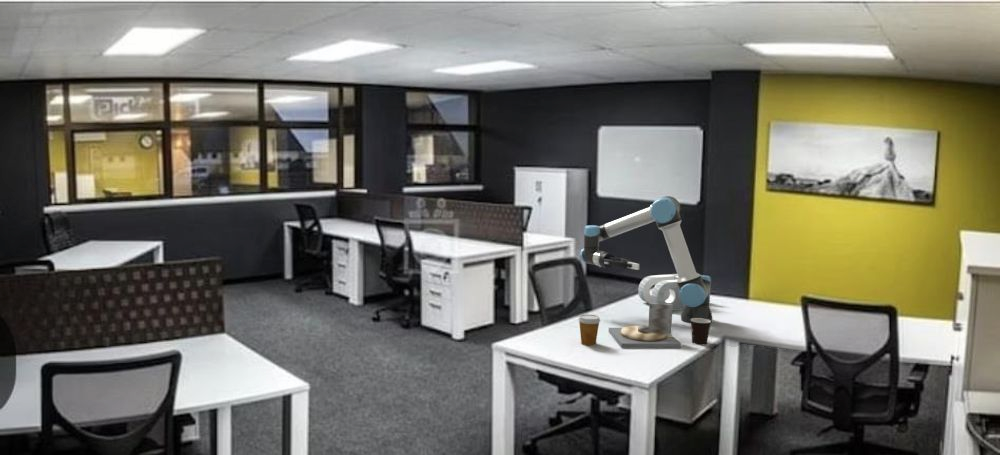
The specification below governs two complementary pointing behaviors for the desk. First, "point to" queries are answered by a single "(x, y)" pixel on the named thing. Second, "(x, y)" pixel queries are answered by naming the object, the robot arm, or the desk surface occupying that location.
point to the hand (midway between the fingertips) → (638, 266)
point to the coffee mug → (700, 330)
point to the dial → (652, 324)
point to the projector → (661, 290)
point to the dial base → (631, 343)
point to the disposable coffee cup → (588, 328)
